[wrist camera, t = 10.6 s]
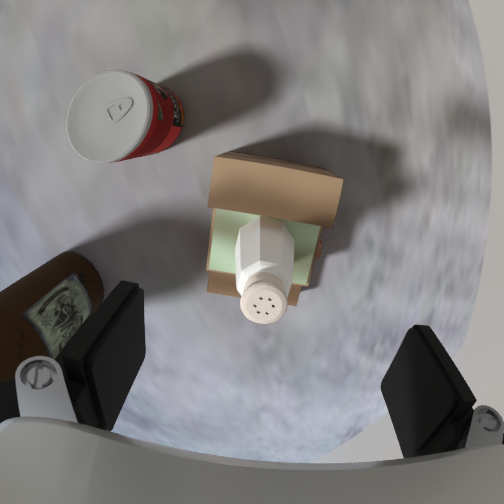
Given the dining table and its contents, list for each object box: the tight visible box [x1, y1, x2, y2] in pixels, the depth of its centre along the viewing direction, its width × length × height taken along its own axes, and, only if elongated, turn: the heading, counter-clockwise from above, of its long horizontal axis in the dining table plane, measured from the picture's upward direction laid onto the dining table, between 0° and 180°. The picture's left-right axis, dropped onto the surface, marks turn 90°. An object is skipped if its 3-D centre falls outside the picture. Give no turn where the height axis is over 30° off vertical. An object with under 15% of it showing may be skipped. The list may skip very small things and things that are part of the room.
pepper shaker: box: [235, 216, 295, 324], centre depth 23 cm, size 5×5×11 cm
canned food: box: [66, 70, 184, 163], centre depth 25 cm, size 8×8×11 cm
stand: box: [206, 152, 344, 306], centre depth 30 cm, size 15×11×10 cm
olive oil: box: [0, 252, 103, 382], centre depth 26 cm, size 11×11×25 cm
